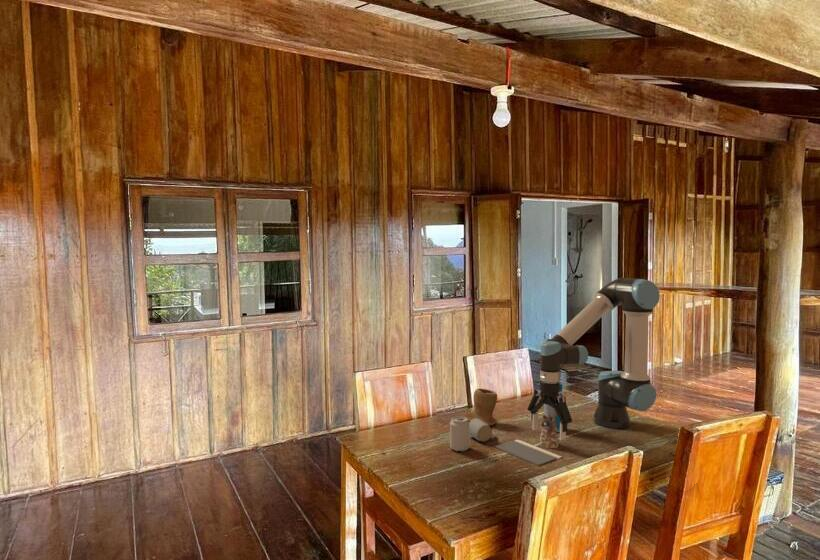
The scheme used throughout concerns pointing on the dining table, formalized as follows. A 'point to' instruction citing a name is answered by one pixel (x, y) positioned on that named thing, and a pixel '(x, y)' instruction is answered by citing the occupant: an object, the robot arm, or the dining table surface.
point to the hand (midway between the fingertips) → (548, 434)
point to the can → (459, 434)
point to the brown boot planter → (483, 406)
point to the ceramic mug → (480, 430)
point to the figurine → (549, 433)
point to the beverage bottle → (553, 411)
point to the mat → (525, 453)
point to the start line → (538, 449)
